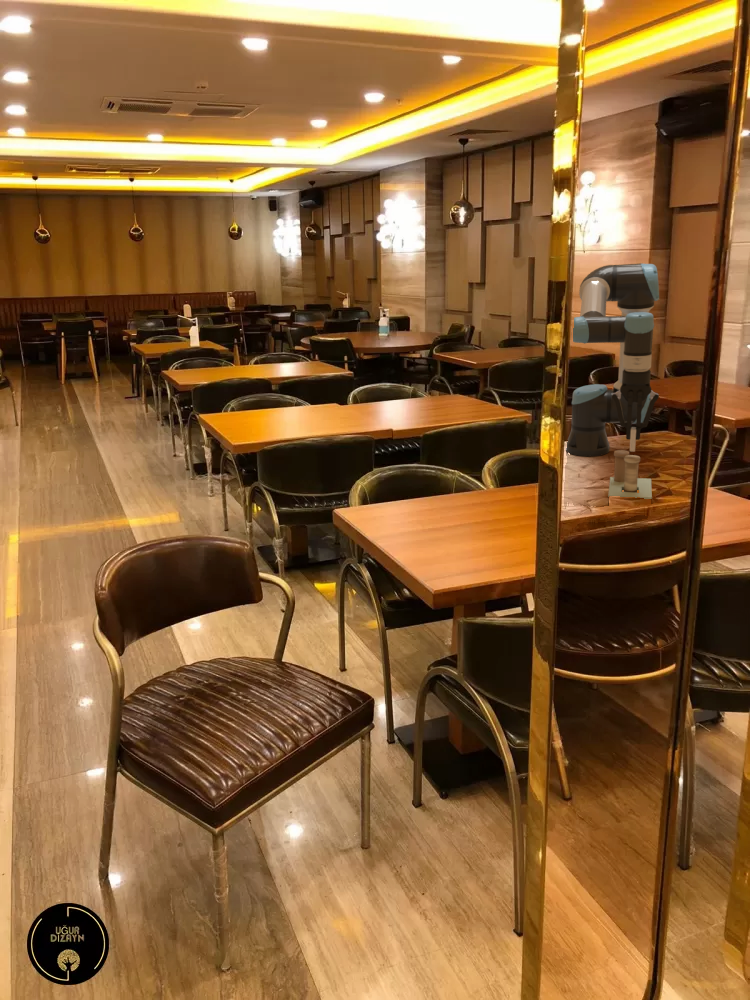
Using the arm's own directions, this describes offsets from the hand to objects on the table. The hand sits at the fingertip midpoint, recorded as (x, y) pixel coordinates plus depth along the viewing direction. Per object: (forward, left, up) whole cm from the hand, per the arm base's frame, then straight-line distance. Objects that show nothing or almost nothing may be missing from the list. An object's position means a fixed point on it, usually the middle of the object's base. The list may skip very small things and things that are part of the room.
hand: (632, 450), depth 236 cm
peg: (0, 0, -16) cm, 16 cm away
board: (-2, 0, -16) cm, 16 cm away
